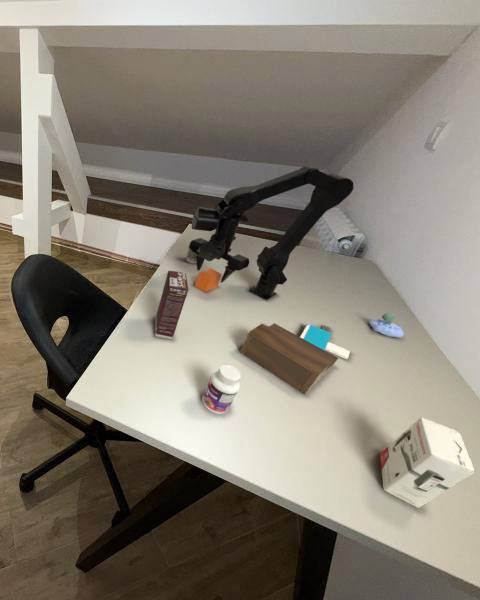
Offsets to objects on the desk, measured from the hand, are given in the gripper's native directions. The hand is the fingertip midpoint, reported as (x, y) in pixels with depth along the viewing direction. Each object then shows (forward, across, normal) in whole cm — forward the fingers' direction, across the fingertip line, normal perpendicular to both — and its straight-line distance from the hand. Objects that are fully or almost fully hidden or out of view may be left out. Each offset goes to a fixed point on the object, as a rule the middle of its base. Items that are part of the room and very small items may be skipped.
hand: (209, 276), depth 105 cm
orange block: (+4, 0, 0) cm, 4 cm away
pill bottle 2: (+4, +31, -41) cm, 52 cm away
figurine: (+4, +44, +27) cm, 52 cm away
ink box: (+4, +59, -27) cm, 65 cm away
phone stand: (+4, +36, +2) cm, 36 cm away
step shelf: (+4, +33, -14) cm, 36 cm away
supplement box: (+4, +8, -31) cm, 32 cm away
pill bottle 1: (+4, -15, +12) cm, 20 cm away
